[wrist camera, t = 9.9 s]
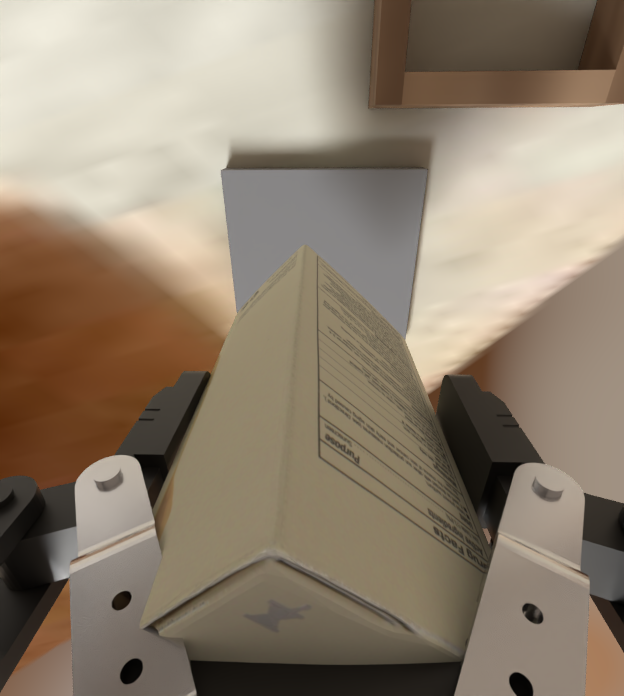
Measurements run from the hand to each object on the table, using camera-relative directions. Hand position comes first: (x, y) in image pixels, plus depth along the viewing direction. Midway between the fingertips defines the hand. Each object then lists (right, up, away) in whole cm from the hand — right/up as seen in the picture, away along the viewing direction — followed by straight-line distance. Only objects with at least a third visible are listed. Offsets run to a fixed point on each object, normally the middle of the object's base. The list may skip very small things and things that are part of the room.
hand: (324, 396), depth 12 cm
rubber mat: (0, +7, +12) cm, 14 cm away
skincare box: (0, +2, +4) cm, 5 cm away
